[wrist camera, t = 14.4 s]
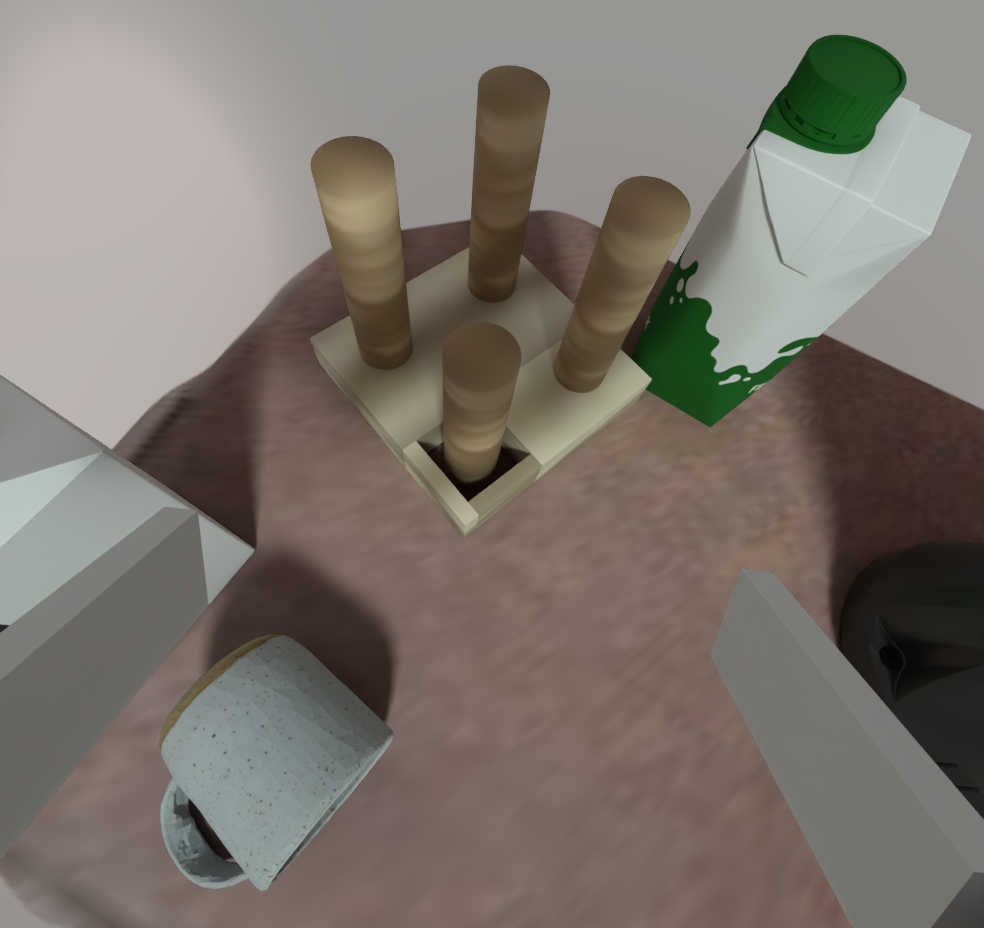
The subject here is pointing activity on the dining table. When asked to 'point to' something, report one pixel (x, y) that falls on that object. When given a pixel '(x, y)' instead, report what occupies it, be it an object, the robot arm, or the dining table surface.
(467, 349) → the loose leg
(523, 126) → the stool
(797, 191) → the soya milk
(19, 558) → the milk carton
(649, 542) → the dining table surface
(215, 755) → the ceramic mug
